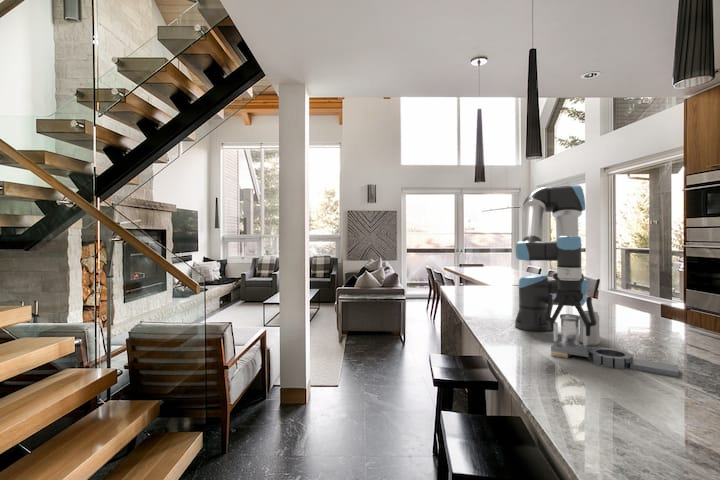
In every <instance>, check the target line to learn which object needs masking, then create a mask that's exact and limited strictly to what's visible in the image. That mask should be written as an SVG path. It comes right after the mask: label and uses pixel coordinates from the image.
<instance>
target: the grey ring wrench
mask: <svg viewBox="0 0 720 480" xmlns="http://www.w3.org/2000/svg"><path fill="white" fill-rule="evenodd" d="M571 355H574V356H580V357H586V358H588V361H589V360H590V361H592V362H593V363H592V362H591V363H592V364H594V363H596V364H595V365H597V364H599V365H598V366H600V365H603V366H606V367H605V368H609V367H612V368H611V369H617V368H624V369H625V368H627V369H630V370H633V369H635V370H634V371H639V370H641V371H640V372H645V371H646V372H647V373H650V374H651V373H652V374H655V375H656V374H658V375H662V376H668V377H675V378H679V365H678V364H673V363H672V364H671V363H665V362H659V361H651V360H646V359H639V358H634V354H632V353H631V352H628V351H625V350H622V349H616V348H612V347H611V348H610V347H608V348H607V347H593V346H587V345H586V346H583V345H580V344H579V345H572V344H566V343H561V342H560V341H559V342H558V341H555V342H554V344H552V345H551V346H550V356H553V357H558V358H565V359H568V358H570V356H571ZM590 361H589V362H590ZM603 366H602V367H603ZM630 367H631V368H630Z"/></svg>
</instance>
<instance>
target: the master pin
mask: <svg viewBox="0 0 720 480" xmlns="http://www.w3.org/2000/svg"><path fill="white" fill-rule="evenodd" d="M559 319H560V332H561V334H560V335H561V337H560V338H561V340H560V343H566V344H572V345H579V346H580V327H579V320H580V316H579V315H577V314H571V313H563V314H559Z"/></svg>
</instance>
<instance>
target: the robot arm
mask: <svg viewBox="0 0 720 480" xmlns="http://www.w3.org/2000/svg"><path fill="white" fill-rule="evenodd" d="M585 210H586V198H585V193H584V190H583V187H582V186H581V185H579V184H575V185H574V184H572V185H571V184H567V185H556V186H555V185H554V186H552V185H551V186H542V187H539V188H537V189H535V190H533V191H532V192H531V193H530V194H528V196H527V197H526V198H525V199H524V202H523V204H522V212H523V215H524V217H523V228H522V238H521V241H517V242H516V243H515V256H516V260H518V261H526V262H530V261H533V262H534V261H535V262H537V261H547V262H550V261H551V262H555V261H556V271H554V272H553V273H552V277H549V276H548V275H547V274H541V273H540V274H530V275H524V276H521V277H520V278H519V280H518V287H517V288H518V311H517V315H516V318H515V321H514V327H516V329H517V328H518V329H520V330H525V331H530V332H531V331H533V332H547V331H548V332H549V331H551V332H553V342H558V340H559V327H558V323H559V322H558V321H557V318H558V317H559V316H560V313H561V312H562V309H563V308H564V306H566V307H575V309H576V310H577V312H578V314H579V315H580V316H581V318H582V320H583V322H584V324H585V325H586V326H583V344H582V346H586V347H587V346H588V345H587V336H590V334H591V326H595V325H596V324H597V322H596V318H595V314H594V312H595V311H594V307H593V296H592V295H589V296H588V295H587V293H588V285H589V281H588V278H587V279H586V278H584V273H582V270H583V269H582V246H583V245H582V239H581V237H580V236H579V217H581V216H582V214H583V213H582V212H583V211H585ZM545 213H551V216H552V217H554V219H555V222H556V223H555V224H556V225H555V227H556V228H555V233H556V239H555V241H554V240H553V241H551V240H550V241H548V240H547V241H545V240H543V232H544V214H545ZM585 304H586V307H587V311H588V312H589V316H590V320H591V322H590V321H589V320H588V318H587V316H586V314H585V312H584V311H585V310H584V308H583V306H584V305H585ZM554 306H557V307H556V309H555V311H554V312H553V315H552V311H553V307H554Z"/></svg>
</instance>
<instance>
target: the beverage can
mask: <svg viewBox="0 0 720 480" xmlns="http://www.w3.org/2000/svg"><path fill="white" fill-rule="evenodd" d="M584 312H585V314H586V316H587V318H588V320H589V321H590V322H591V320H590V316H589V312H588V310H584ZM594 314H595V318H596V322H597V324H596V325H595V326H591V334H590V336H587V345H586V346H589V345H596V346H598V345H599V344H600V338H601V337H600V315H599V312H598V311H594ZM578 316H580V314H579V315H578ZM583 326H586V325H585V324H584V322H583V320H582V318H581V316H580V320H579V343H581V344H582V343H583Z"/></svg>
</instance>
